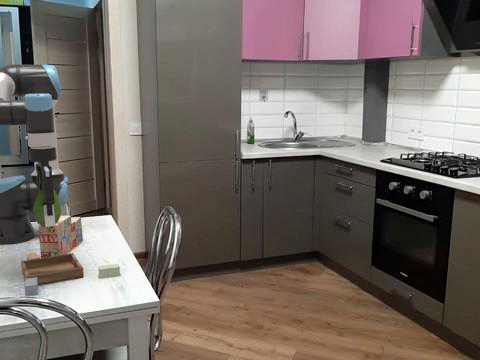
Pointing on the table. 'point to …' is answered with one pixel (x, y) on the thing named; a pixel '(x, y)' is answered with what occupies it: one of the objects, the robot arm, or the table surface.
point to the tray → (53, 269)
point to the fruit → (39, 209)
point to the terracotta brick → (32, 256)
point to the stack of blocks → (60, 236)
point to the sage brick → (109, 270)
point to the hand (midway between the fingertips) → (48, 222)
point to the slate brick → (31, 286)
